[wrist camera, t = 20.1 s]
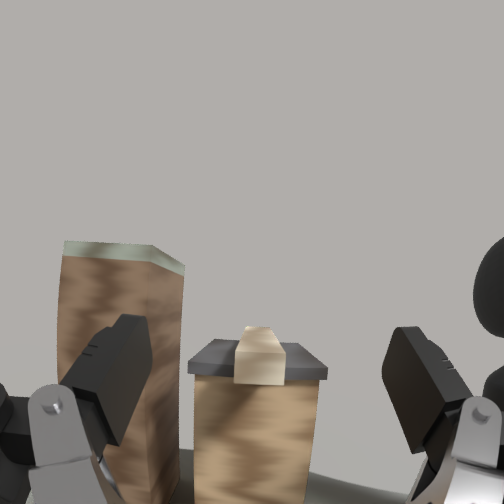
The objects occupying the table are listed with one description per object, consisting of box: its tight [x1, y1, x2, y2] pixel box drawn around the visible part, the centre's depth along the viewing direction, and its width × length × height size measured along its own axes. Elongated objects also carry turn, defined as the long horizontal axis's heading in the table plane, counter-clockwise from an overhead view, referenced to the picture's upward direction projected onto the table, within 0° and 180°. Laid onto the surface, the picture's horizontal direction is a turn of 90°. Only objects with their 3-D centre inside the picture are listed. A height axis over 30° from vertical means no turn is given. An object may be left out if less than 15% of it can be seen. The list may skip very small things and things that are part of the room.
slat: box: [234, 326, 286, 385], centre depth 28 cm, size 3×22×2 cm, turn 179°
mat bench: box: [188, 339, 328, 504], centre depth 29 cm, size 11×17×22 cm, turn 0°
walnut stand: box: [57, 241, 185, 504], centre depth 31 cm, size 10×14×32 cm
